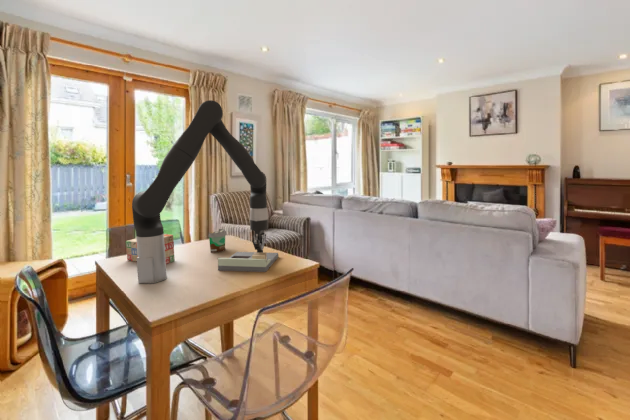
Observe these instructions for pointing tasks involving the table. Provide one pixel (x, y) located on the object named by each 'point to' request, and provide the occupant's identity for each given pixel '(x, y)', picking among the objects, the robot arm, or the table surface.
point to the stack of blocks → (168, 242)
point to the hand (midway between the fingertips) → (260, 258)
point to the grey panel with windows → (246, 262)
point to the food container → (217, 241)
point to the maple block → (259, 256)
